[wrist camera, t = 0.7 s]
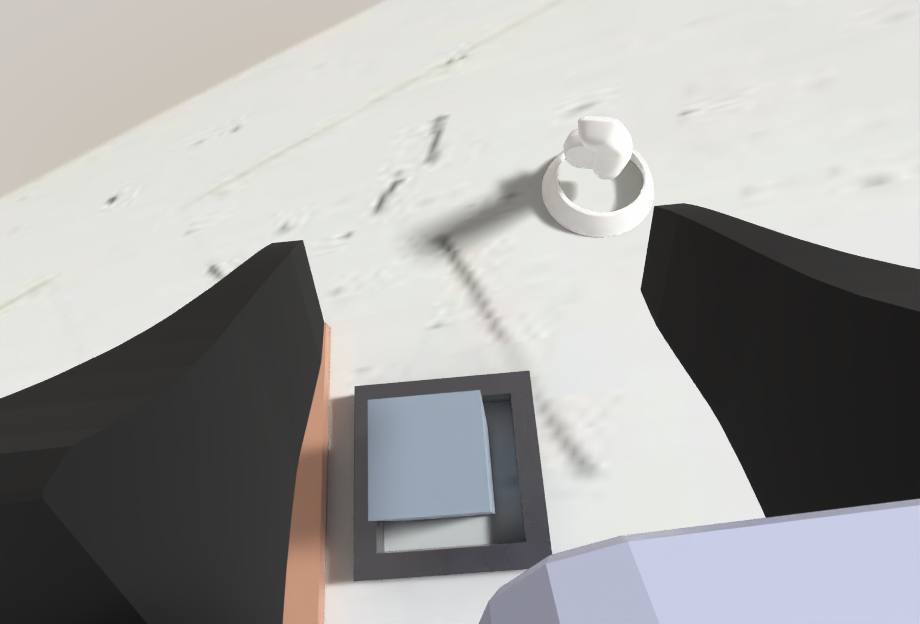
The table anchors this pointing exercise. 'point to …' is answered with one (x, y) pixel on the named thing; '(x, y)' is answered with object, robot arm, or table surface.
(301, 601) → the terracotta tile
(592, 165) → the white handled ring
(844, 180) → the table surface
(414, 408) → the metal peg
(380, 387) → the iron collar
